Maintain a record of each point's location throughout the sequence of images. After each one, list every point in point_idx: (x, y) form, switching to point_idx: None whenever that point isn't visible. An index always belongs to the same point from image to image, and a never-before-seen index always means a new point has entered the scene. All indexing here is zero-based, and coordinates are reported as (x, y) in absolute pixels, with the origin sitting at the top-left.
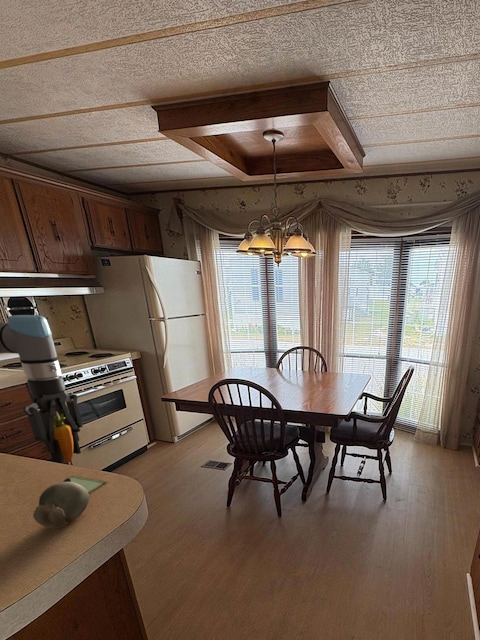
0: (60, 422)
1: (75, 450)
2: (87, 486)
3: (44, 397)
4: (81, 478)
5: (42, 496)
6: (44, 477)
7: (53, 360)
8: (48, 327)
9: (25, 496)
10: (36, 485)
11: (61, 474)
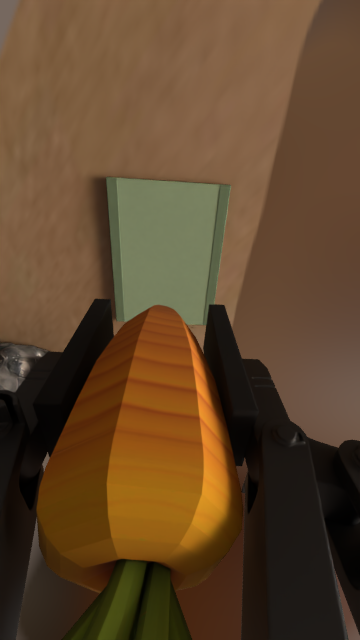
0: None
1: (206, 347)
2: (174, 298)
3: None
4: (218, 237)
5: None
6: (210, 22)
7: None
8: None
9: (54, 116)
10: (136, 67)
11: (250, 97)
